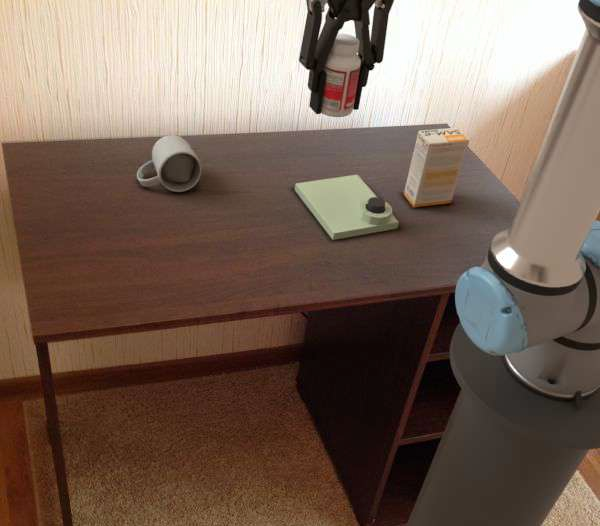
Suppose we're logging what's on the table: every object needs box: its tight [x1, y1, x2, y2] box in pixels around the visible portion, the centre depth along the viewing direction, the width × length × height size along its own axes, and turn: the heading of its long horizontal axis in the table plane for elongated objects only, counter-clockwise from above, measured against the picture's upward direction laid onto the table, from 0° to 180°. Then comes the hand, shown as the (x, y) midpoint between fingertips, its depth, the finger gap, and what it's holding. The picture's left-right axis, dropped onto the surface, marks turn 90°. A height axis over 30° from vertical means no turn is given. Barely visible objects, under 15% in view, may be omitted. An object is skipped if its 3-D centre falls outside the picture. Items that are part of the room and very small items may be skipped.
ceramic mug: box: [136, 134, 202, 193], centre depth 133 cm, size 11×8×8 cm
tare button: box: [367, 196, 386, 214], centre depth 132 cm, size 3×3×2 cm
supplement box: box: [403, 127, 470, 208], centre depth 137 cm, size 8×5×13 cm, turn 111°
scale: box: [294, 174, 400, 241], centre depth 135 cm, size 16×13×3 cm
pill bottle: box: [321, 33, 361, 118], centre depth 118 cm, size 6×6×11 cm
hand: (334, 107), depth 122 cm, fingers closed on pill bottle, 6 cm apart
